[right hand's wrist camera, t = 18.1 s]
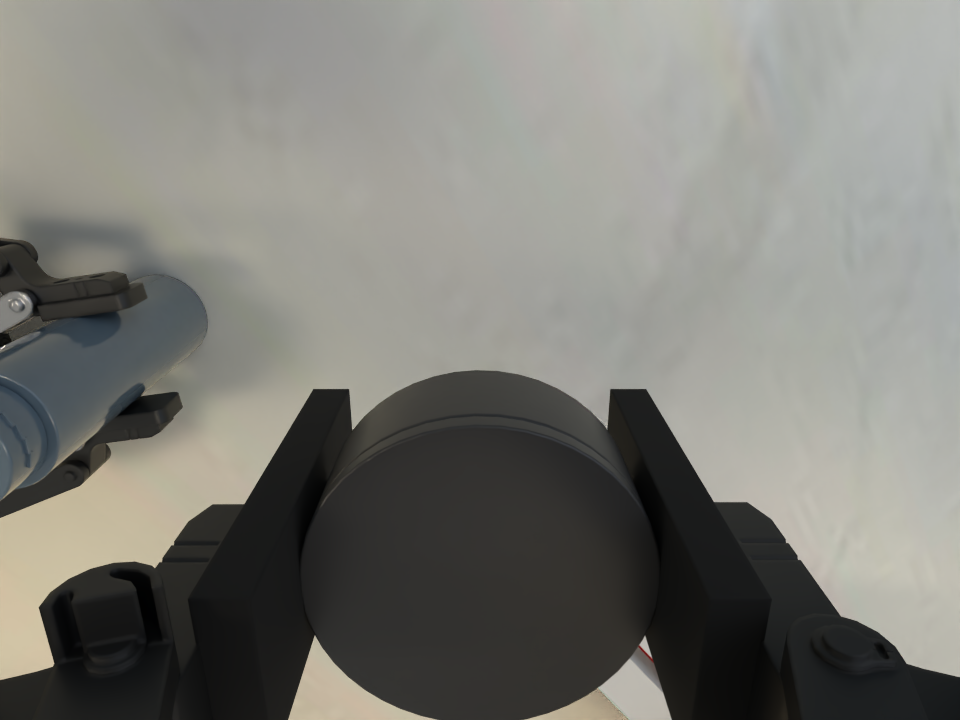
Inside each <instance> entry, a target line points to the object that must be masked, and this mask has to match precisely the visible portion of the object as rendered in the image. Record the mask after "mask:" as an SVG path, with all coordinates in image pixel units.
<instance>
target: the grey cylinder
mask: <svg viewBox="0 0 960 720" xmlns="http://www.w3.org/2000/svg"><path fill="white" fill-rule="evenodd" d="M139 282H142V283H143V284H144V287H145V291H146V294H147V297H148V298H147V299H145V300H144V301H142V302H140V303H138V304H137V305H135V306H133V307H131V308H128V309H124V310H120V311H114V312H107V313H100V314H93V315H86V316H79V317H72V318H63V319H58V320H54V321H52V322H50V323H48V324H46V325H44V326H42V327H40V328H38V329H36V330H34V331H32V332H30V333H28V334H26V335H24V336H22V337H20V338H18V339H16V340H14V341H12V342H10V343H8V344H6V345H4V346H2V347H0V501H1V500H2V499H3V498H4V497H6V496H7V495H8V494H9V493H11V492H12V491H13V490H14V489H19V488H24V487H27V486H30V485H33V484H35V483H37V482H39V481H40V480H42V479H43V478H44V477H46V476H47V475H48V474H49V473H50V472H52V471H53V470H54V469H55V468H56V467H57V466H59V465H60V464H61V463H62V462H63V461H64V460H66V459H67V458H68V457H69V456H70V455H72V454H73V453H74V452H75V451H76V450H77V449H79V448H80V447H81V446H82V445H83V444H85V443H86V442H87V441H88V440H89V439H90V438H92V437H93V436H94V435H95V434H96V433H98V432H99V431H100V430H101V429H102V428H103V427H105V426H106V425H107V424H108V423H109V422H110V421H112V420H113V419H114V418H115V417H116V416H118V415H119V414H120V413H121V412H122V411H123V410H125V409H126V408H127V407H128V406H129V405H131V404H132V403H133V402H134V401H135V400H136V399H138V398H139V397H140V396H141V395H142V394H143V393H145V392H146V391H147V390H148V389H149V388H151V387H152V386H153V385H154V384H155V383H156V382H158V381H159V380H160V379H161V378H162V377H164V376H165V375H166V374H167V373H168V372H169V371H171V370H172V369H173V368H174V367H175V366H177V365H178V364H179V363H180V362H181V361H182V360H184V359H185V358H186V357H187V356H188V355H189V354H191V353H192V352H193V351H194V350H195V349H196V348H197V347H198V346H199V345H200V344H201V343H202V341H203V339H204V337H205V334H206V331H207V315H206V311H205V308H204V306H203V304H202V302H201V300H200V299H199V297H198V296H197V294H196V293H195V292H194V291H193V290H192V289H191V288H190V287H188V286H187V285H186V284H184V283H183V282H181V281H179V280H177V279H175V278H172V277H168V276H164V275H148V276H144V277H141V278H139V279H137V280H135V281H133V282H131V283H139ZM131 283H129V284H131Z"/></svg>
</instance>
